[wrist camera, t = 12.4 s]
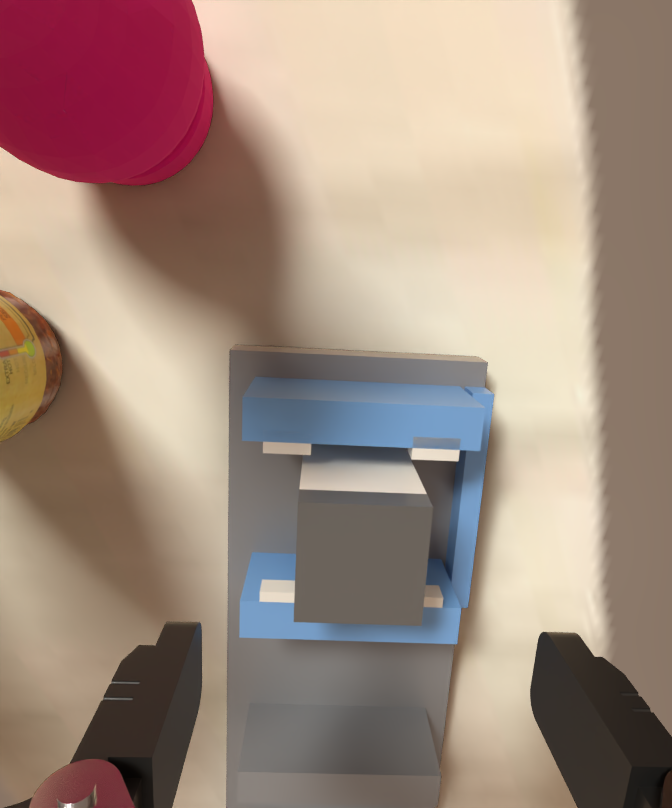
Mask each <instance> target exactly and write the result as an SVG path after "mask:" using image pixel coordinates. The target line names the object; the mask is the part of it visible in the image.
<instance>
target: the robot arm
mask: <svg viewBox="0 0 672 808" xmlns="http://www.w3.org/2000/svg"><path fill="white" fill-rule="evenodd" d="M201 689H202V629H201V623H200V622H166V624H165V625H164V628H163V630H162V632H161V635H160V637H159V639H158V641H157V644H156V646H153V645H139V646H138V647H137V648H136V649H134V650H133V651H132V652H131V653H130V654H129V655H128V656H127V657H126V658H125V659H123V660H122V661H121V663H120V665H119V667H118V669H117V671H116V673H115V675H114V677H113V679H112V683H111V684H110V685H109V687H108V689H107V691H106V693H105V695H104V699H103V701H101V703H100V705H99V707H98V709H97V711H96V713H95V715H94V717H93V719H92V721H91V723H90V725H89V727H88V729H87V731H86V733H85V735H84V737H83V739H82V741H81V743H80V745H79V747H78V749H77V751H76V753H75V755H74V757H73V758H72V760H71V762H70V764H69V765H66V766H64V767H63V768H61V769H59V770H57V771H56V772H55V773H53V774H52V775H51V776H49V777H48V778H47V779H46V780H45V781H44V782H43V783H42V784H41V785H40V787H39V788H38V789H37V791H36V792H35V794H34V796H33V797H32V798H30V799H28V800H26V801H24V802H21V803H18V804H15V805H12V806H8V807H5V808H172V806H173V802H174V798H175V795H176V791H177V787H178V784H179V780H180V776H181V773H182V769H183V765H184V762H185V758H186V754H187V751H188V747H189V743H190V740H191V736H192V732H193V728H194V725H195V721H196V717H197V714H198V710H199V704H200V698H201ZM530 698H531V706H532V711H533V714H534V717H535V720H536V722H537V724H538V726H539V728H540V730H541V732H542V735H543V737H544V739H545V741H546V743H547V745H548V747H549V749H550V751H551V753H552V755H553V757H554V759H555V761H556V764H557V766H558V768H559V770H560V772H561V774H562V776H563V778H564V780H565V782H566V784H567V786H568V788H569V790H570V793H571V795H572V797H573V799H574V801H575V803H576V805H577V807H578V808H672V737H671V735H670V734H669V733H668V731H667V730H666V729H665V727H664V726H663V725H662V723H661V722H660V721H659V720H658V718H657V717H656V716H655V714H654V713H651V711H650V708H649V706H648V705H647V704H646V702H645V701H644V700H643V698H642V697H640V696H639V695H638V692H637V690H636V689H635V688H634V686H633V685H632V684H631V683H630V681H629V680H628V679H627V677H626V676H625V675H624V674H623V673H622V672H621V671H619V670H618V669H617V668H616V667H615V666H613V665H612V664H611V663H609V662H608V661H607V660H606V659H604V658H603V657H594V655H593V654H592V653H591V651H590V650H589V648H588V647H587V646H586V644H585V643H584V641H583V640H582V639H581V637H580V636H579V635H578V634H576V633H563V632H542V633H541V634H540V636H539V639H538V644H537V651H536V657H535V663H534V669H533V676H532V682H531V689H530Z"/></svg>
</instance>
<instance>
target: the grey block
mask: <svg viewBox="0 0 672 808" xmlns="http://www.w3.org/2000/svg"><path fill="white" fill-rule="evenodd" d="M432 514H433V506H432V504H431V502H430V500H429V497H428V495H427V493H426V491H425V489H424V487H423V485H422V482H421V480H420V478H419V476H418V474H417V472H416V470H415V467H414V465H413V463H412V461H411V459H410V457H409V455H408V452H407V450H406V448H398V447H375V446H352V445H329V444H311V455H303V460H302V469H301V478H300V487H299V497H298V513H297V541H296V568H295V596H294V622H306V623H340V624H374V625H408V626H422V616H423V606H424V596H425V585H426V575H427V565H428V555H429V545H430V535H431V525H432Z"/></svg>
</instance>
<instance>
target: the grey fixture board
mask: <svg viewBox="0 0 672 808" xmlns="http://www.w3.org/2000/svg"><path fill="white" fill-rule="evenodd" d="M487 366H488V362H486V361H485V360H483V359H481V358H479V357H476V356H456V355H436V354H415V353H395V352H374V351H354V350H334V349H313V348H293V347H272V346H252V345H235V346H234V347H232V348H231V349H230V367H229V507H228V648H227V789H226V808H435V807H438V800H439V791H440V783H441V773H440V762H441V754H442V745H443V737H444V729H445V720H446V712H447V703H448V695H449V686H450V678H451V670H452V661H453V653H454V644H457V641H458V633H459V624H460V616H461V608H468V603H469V595H470V587H471V579H472V571H473V562H474V554H475V546H476V538H477V530H478V522H479V514H480V505H481V497H482V489H483V481H484V473H485V465H486V457H487V449H488V440H489V432H490V424H491V416H492V408H493V400H494V394H493V393H492V392H490V391H489V390H488V389H486V388H485V383H486V374H487ZM311 444H329V445H352V446H375V447H398V448H406V450H407V452H408V455H409V457H410V459H411V461H412V463H413V465H414V467H415V470H416V472H417V474H418V476H419V478H420V480H421V482H422V485H423V487H424V489H425V491H426V493H427V495H428V497H429V500H430V502H431V504H432V506H433V514H432V525H431V535H430V545H429V555H428V565H427V575H426V585H425V596H424V606H423V616H422V626H408V625H374V624H340V623H306V622H294V596H295V568H296V541H297V513H298V497H299V487H300V478H301V469H302V460H303V455H311Z"/></svg>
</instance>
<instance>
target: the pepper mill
mask: <svg viewBox="0 0 672 808" xmlns="http://www.w3.org/2000/svg"><path fill="white" fill-rule="evenodd" d="M212 113H213V90H212V82H211V77H210V73H209V69H208V66H207V63H206V60H205V58H204V48H203V40H202V33H201V28H200V24H199V21H198V18H197V14H196V11H195V7H194V5H193V2H192V0H0V147H2V148H3V149H5V150H6V151H8V152H9V153H10V154H12V155H13V156H15V157H16V158H18V159H19V160H21V161H23V162H25V163H27V164H29V165H31V166H33V167H35V168H37V169H39V170H41V171H44V172H46V173H49V174H51V175H53V176H56V177H58V178H62V179H67V180H71V181H75V182H86V183H108V182H113V183H117V184H122V185H130V186H132V185H147V184H153V183H156V182H160V181H163V180H165V179H167V178H169V177H171V176H173V175H175V174H176V173H178V172H179V171H180V170H182V169H183V168H184V167H185V166H186V165H187V164H189V163H190V161H191V160H192V159H193V158H194V157H195V155H196V154H197V153H198V151H199V150H200V148H201V146H202V145H203V143H204V141H205V138H206V136H207V134H208V130H209V127H210V123H211V119H212Z"/></svg>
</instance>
